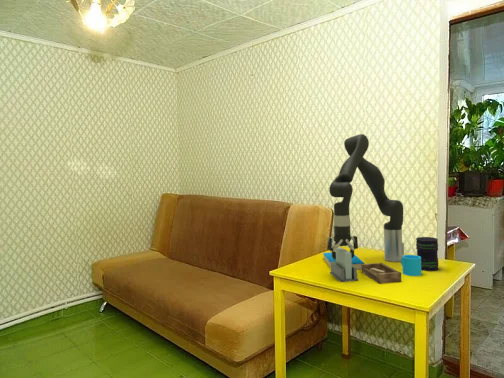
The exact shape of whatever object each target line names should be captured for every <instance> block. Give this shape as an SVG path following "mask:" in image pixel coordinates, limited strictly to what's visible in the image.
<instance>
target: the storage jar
mask: <svg viewBox="0 0 504 378" xmlns="http://www.w3.org/2000/svg"><path fill="white" fill-rule="evenodd" d="M438 240H439V239H438V238H437V237H430V236H419V237H416V238H415V241H416V243H415V247H416V248H415V249H416V255H417V256H420V257H421V271H425V272H435V271H439V257H438V252H439V242H438Z"/></svg>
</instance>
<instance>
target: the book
mask: <svg viewBox="0 0 504 378" xmlns="http://www.w3.org/2000/svg"><path fill="white" fill-rule="evenodd" d="M322 254H323V259H324V261H325V262H326V264H327V265H328V266H329V268H330V269H331V261H334V262H335V263H336V259H335V260H334V259H333V258H332V252H323V253H322ZM351 260H352V265H353V266H355V267H356V268H357V271H359V270H360V271H362V265H361V264H365V262H364V261H363V260H362V259H361V258H359V257H358V256H357V255H356V254H355V253H354V257H353V258H351Z"/></svg>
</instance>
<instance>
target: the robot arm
mask: <svg viewBox="0 0 504 378" xmlns="http://www.w3.org/2000/svg"><path fill="white" fill-rule="evenodd" d="M343 144H344V145H343V146H344V149H345V151H346V153H347V154H348V156H349V157H348V158H347V159H346V160H345V161H344V162H343V164H342V165H341V168H340V170H339V172H338V174H337V176H336V177H335V178H334V180H333V181H332V182H331V183H330V186H329V191H328V192H329V195H330V196H331V197H333V198H342V201H340V202H339V201H338V202H335V203H334V205H333V237H330V236H328V237H327V247H326V248H327V250H328V251H329V252H331V253H332V258H333V259H334V260H335V259H336V249H337V248H340V247H346V246H347V247H348V248H349V252H351V258H353V257H354V254H355V250H358V248H359V242H358V236H356V235H353V236H351V218H350V217H351V216H350V203H351V199H352V195H353V190H354V188H353V186H352V185H353V184H351V183H352V182H353V179H354V177H355V174H356V171H357V169H358V171H359V173H360V174H361V176H362V178H363V180H364V182H365V183H366V185H367V187H368V188H369V190H370V192H371V194H372V196H373V198H374V200H375V202H376V204H377V206H378V208H379V211H380V213H381V214H382V215H383V216H385V217H389V221H387V222H385V223H384V224H383V245H384V247H383V248H384V252H383V253H384V255H383V257H384V260H385V261H387V262H394V263H395V262H401V259H402V256H403V255H405V246H404V245H405V244H404V242H403V224H404V204H403V202H402V201H400V200H398V199H390V198H389V197H388V195H387V194H386V192H385V185H386V184H385V183H386V182H385V176H384V175H383V173H382V172H381V170H380V168H379V167H378V166H376V165H375V164H373V163H372V162H371V161H369V160H367V159H366V158H364V156H365V155H366V153H367V151H368V149H369V147H370V146H369V145H370V144H369V139H368V136H366V135H365V134H362V133H360V134H356V135H354V136H350V137H348V138H346V139H344V142H343ZM351 240H352V243H353V245H352V244H351ZM333 242H334V243H333ZM332 243H333V244H332Z"/></svg>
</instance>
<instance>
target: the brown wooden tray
mask: <svg viewBox="0 0 504 378" xmlns="http://www.w3.org/2000/svg"><path fill="white" fill-rule="evenodd" d="M361 265H362V270H361V273H362V274H364V275H365V276H367V277H368V278H369V279H372V280H373V281H374V282H376V283H378V284H389V283H391V284H392V283H402V272H400V271H398V270H397V269H395V268H393V267H390V266H389V265H387V264H385V263H383V262H378V263H376V262H375V263H374V262H373V263H364V264H361ZM370 268H376V269H379V270H382V271H385V273H379V274H375V273H373V272H372V271H370Z"/></svg>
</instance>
